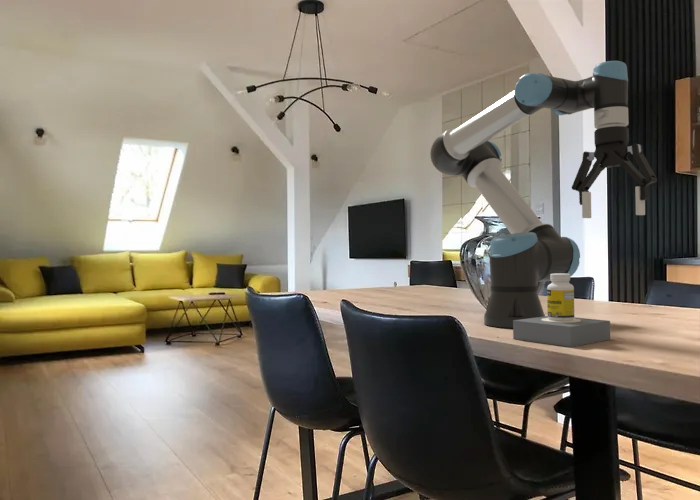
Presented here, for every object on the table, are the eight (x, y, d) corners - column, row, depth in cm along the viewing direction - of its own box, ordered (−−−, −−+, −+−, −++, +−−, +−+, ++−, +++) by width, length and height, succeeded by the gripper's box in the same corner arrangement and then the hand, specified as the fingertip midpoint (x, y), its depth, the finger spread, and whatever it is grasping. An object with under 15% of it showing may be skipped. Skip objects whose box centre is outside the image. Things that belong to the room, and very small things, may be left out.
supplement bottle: (542, 319, 127) (541, 273, 127) (562, 317, 129) (561, 273, 129) (559, 321, 122) (559, 274, 122) (580, 320, 124) (579, 273, 124)
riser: (513, 338, 127) (513, 319, 127) (553, 332, 136) (552, 314, 136) (570, 347, 116) (570, 325, 116) (610, 339, 124) (609, 319, 124)
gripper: (556, 135, 149) (557, 219, 149) (655, 116, 129) (656, 213, 129) (574, 138, 154) (575, 219, 154) (672, 120, 133) (673, 213, 133)
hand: (612, 216), depth 141 cm, fingers open, 13 cm apart
